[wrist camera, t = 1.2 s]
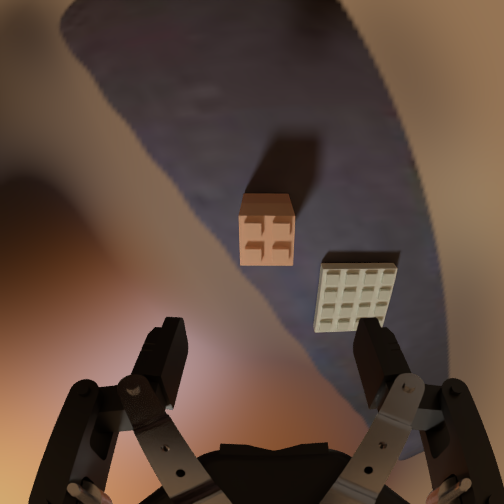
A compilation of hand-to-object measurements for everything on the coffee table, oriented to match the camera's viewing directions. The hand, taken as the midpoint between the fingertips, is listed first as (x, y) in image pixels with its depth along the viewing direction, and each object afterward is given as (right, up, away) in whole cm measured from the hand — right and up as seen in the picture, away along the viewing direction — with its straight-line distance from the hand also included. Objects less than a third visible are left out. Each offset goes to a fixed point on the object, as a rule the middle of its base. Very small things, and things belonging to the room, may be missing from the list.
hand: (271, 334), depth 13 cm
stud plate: (+10, -1, +18) cm, 21 cm away
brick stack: (0, +7, +14) cm, 16 cm away
